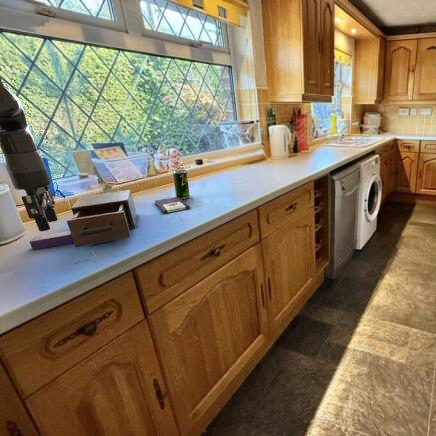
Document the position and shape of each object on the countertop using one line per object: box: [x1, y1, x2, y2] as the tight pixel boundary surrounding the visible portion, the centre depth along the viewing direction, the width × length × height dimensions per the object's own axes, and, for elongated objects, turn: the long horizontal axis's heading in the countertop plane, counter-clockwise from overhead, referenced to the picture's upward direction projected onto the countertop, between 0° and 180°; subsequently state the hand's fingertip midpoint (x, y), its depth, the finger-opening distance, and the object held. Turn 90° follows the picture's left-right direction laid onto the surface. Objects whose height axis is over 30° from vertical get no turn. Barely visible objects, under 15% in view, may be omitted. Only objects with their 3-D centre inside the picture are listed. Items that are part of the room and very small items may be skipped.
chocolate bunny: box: [99, 182, 113, 194], centre depth 120 cm, size 6×8×10 cm
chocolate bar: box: [154, 196, 190, 214], centre depth 120 cm, size 9×1×18 cm
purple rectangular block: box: [29, 230, 74, 251], centre depth 87 cm, size 9×4×3 cm, turn 119°
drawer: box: [66, 203, 132, 248], centre depth 88 cm, size 19×13×8 cm
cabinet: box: [70, 189, 138, 230], centre depth 99 cm, size 16×14×10 cm
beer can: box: [172, 168, 191, 200], centre depth 129 cm, size 5×5×12 cm
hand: (49, 225), depth 86 cm, fingers open, 8 cm apart
